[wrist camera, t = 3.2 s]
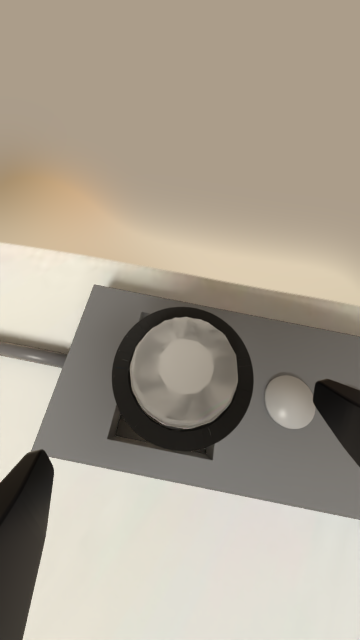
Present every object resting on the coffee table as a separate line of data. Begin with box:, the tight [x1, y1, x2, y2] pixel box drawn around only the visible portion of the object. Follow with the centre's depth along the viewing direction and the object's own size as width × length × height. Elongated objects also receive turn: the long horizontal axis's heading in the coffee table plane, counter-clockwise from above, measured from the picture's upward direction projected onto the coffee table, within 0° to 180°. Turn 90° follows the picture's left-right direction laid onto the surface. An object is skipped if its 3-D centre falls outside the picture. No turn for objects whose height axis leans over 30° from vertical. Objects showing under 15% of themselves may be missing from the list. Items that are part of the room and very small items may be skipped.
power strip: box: [0, 284, 360, 520], centre depth 16 cm, size 30×11×3 cm, turn 80°
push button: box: [112, 307, 254, 451], centre depth 13 cm, size 7×5×10 cm
